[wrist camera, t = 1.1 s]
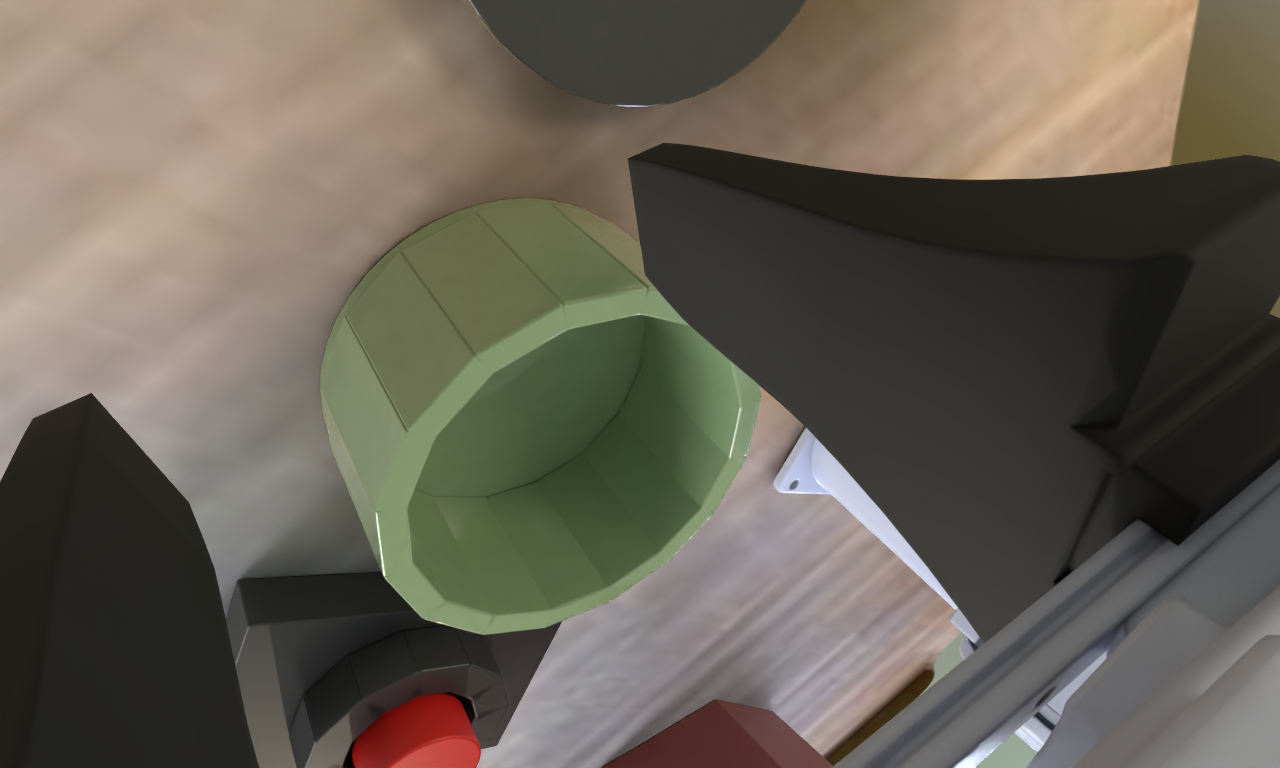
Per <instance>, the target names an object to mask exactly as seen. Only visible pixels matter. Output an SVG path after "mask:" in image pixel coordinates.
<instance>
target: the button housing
mask: <svg viewBox="0 0 1280 768" xmlns="http://www.w3.org/2000/svg"><path fill="white" fill-rule="evenodd" d="M561 622H562V621H560V622H558V623H556V624H553V625H551V626H547V627H546V628H539V629H531V630H522V631H513V632H505V633H496V634H488V635H482V634H477V633H473V632H469V631H465V630H462V629H458V628H454V627H451V626H447V625H443V624H439V623H436V622H432V621H428V620H426V619H423V618H421V617H420V616H419V615H418V613H417V612H416V611H415V610H414V609H413V608H412V607H411V606H410V605H409V604H408V603H407V602H406V601H405V600H404V599H403V598H402V597H401V595H400V594H399V593H398V592H397V591H396V590H395V589H394V588H393V587H392V586H391V585H390V584H389V583H388V582H387V581H386V580H385V579H384V577H383V574H382V572H379V573H359V574H340V575H321V576H301V577H282V578H263V579H243V580H238V582H237V585H236V588H235V591H234V594H233V597H232V601H231V604H230V607H229V610H228V613H227V616H226V623H227V628H228V633H229V637H230V642H231V647H232V652H233V657H234V661H235V666H236V671H237V676H238V680H239V685H240V690H241V695H242V700H243V704H244V709H245V714H246V719H247V723H248V728H249V732H250V735H251V739H252V743H253V747H254V750H255V754H256V758H257V761H258V764H259V767H260V768H355V766H354V763H353V760H352V750H353V745H354V743H355V740H356V739H357V737H358V736H359V735H360V734H361V733H362V732H363V731H364V730H365V729H367V728H368V727H369V726H370V725H371V724H372V723H373V722H374V721H375V720H376V719H377V718H379V717H380V716H381V715H382V714H384V713H386V712H388V711H390V710H392V709H394V708H396V707H398V706H400V705H402V704H404V703H406V702H408V701H410V700H412V699H414V698H416V697H420V696H426V695H432V694H438V693H448V694H451V695H453V696H455V697H456V698H458V699H459V700H460V702H461V703H462V705H463V707H464V710H465V712H466V714H467V717H468V719H469V721H470V724H471V726H472V728H473V730H474V733H475V735H476V737H477V740H478V742H479V744H480V748H481V749H484V748H489V747H493V746H496V745H497V744H498V742H499V740H500V739H501V737H502V735H503V733H504V731H505V729H506V727H507V725H508V723H509V721H510V720H511V718H512V716H513V714H514V712H515V710H516V708H517V706H518V704H519V702H520V701H521V699H522V697H523V695H524V693H525V691H526V689H527V687H528V685H529V683H530V681H531V680H532V678H533V676H534V674H535V672H536V670H537V668H538V666H539V664H540V662H541V661H542V659H543V657H544V655H545V653H546V651H547V649H548V647H549V645H550V643H551V642H552V640H553V638H554V636H555V634H556V632H557V630H558V628H559V626H560V624H561Z"/></svg>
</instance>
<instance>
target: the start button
mask: <svg viewBox="0 0 1280 768" xmlns="http://www.w3.org/2000/svg"><path fill="white" fill-rule="evenodd" d="M480 755H481V748H480V744H479V742H478V740H477V737H476V735H475V733H474V730H473V728H472V726H471V724H470V721H469V719H468V717H467V714H466V712H465V710H464V707H463V705H462V703H461V702H460V700H459V699H458V698H456V697H455V696H453V695H451V694H448V693H438V694H432V695H426V696H420V697H416V698H414V699H412V700H410V701H408V702H406V703H404V704H402V705H400V706H398V707H396V708H394V709H392V710H390V711H388V712H386V713H384V714H382V715H381V716H380V717H379V718H377V719H376V720H375V721H374V722H373V723H372V724H371V725H370V726H369V727H368V728H367V729H365V730H364V731H363V732H362V733H361V734H360V735H359V736H358V737H357V739H356V740H355V743H354V745H353V750H352V760H353V763H354V766H355V768H476V766H477V764H478V762H479V759H480Z"/></svg>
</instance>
